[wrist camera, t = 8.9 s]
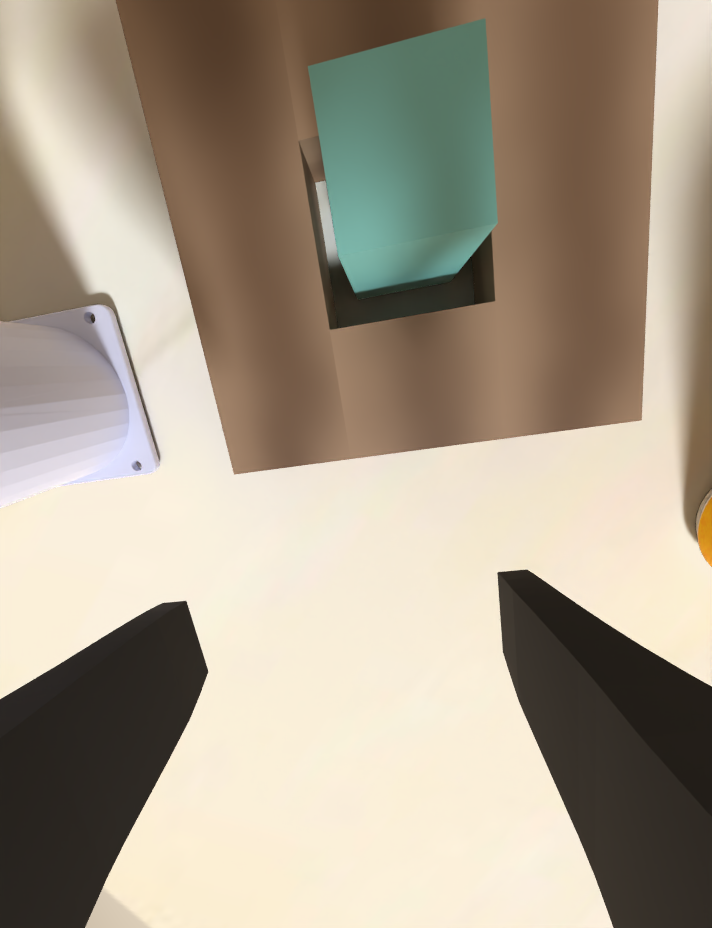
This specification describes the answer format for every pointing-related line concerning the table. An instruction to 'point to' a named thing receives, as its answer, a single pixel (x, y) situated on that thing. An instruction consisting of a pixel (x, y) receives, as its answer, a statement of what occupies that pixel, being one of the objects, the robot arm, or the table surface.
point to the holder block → (494, 262)
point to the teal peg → (408, 157)
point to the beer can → (705, 527)
